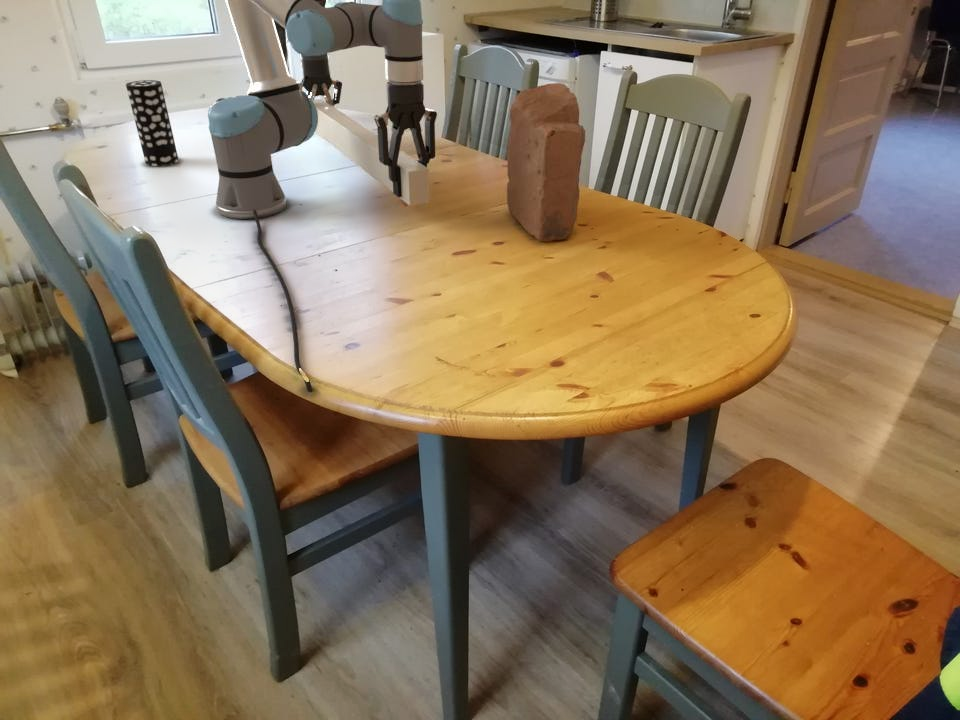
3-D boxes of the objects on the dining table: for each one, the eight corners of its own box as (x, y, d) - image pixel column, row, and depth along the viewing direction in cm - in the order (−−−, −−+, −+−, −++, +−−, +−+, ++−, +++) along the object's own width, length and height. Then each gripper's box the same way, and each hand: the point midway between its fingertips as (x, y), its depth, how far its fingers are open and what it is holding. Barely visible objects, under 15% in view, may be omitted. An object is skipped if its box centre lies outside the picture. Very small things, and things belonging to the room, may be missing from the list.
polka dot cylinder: (184, 157, 190) (167, 80, 179) (169, 166, 183) (151, 87, 172) (155, 156, 190) (136, 79, 179) (139, 165, 183) (119, 86, 172)
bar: (429, 202, 149) (428, 168, 145) (409, 205, 147) (408, 171, 143) (324, 125, 202) (321, 98, 198) (308, 126, 200) (305, 100, 196)
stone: (590, 238, 144) (602, 97, 129) (540, 245, 141) (546, 100, 126) (549, 207, 161) (555, 80, 147) (504, 213, 158) (506, 82, 144)
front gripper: (435, 74, 146) (436, 182, 158) (356, 81, 138) (364, 194, 151) (452, 81, 140) (452, 192, 153) (371, 89, 133) (378, 205, 145)
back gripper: (335, 52, 192) (340, 115, 201) (284, 55, 186) (292, 120, 195) (344, 56, 187) (349, 121, 196) (292, 60, 181) (300, 127, 190)
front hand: (408, 192), depth 152 cm, fingers closed on bar, 5 cm apart
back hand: (321, 120), depth 196 cm, fingers closed on bar, 4 cm apart
